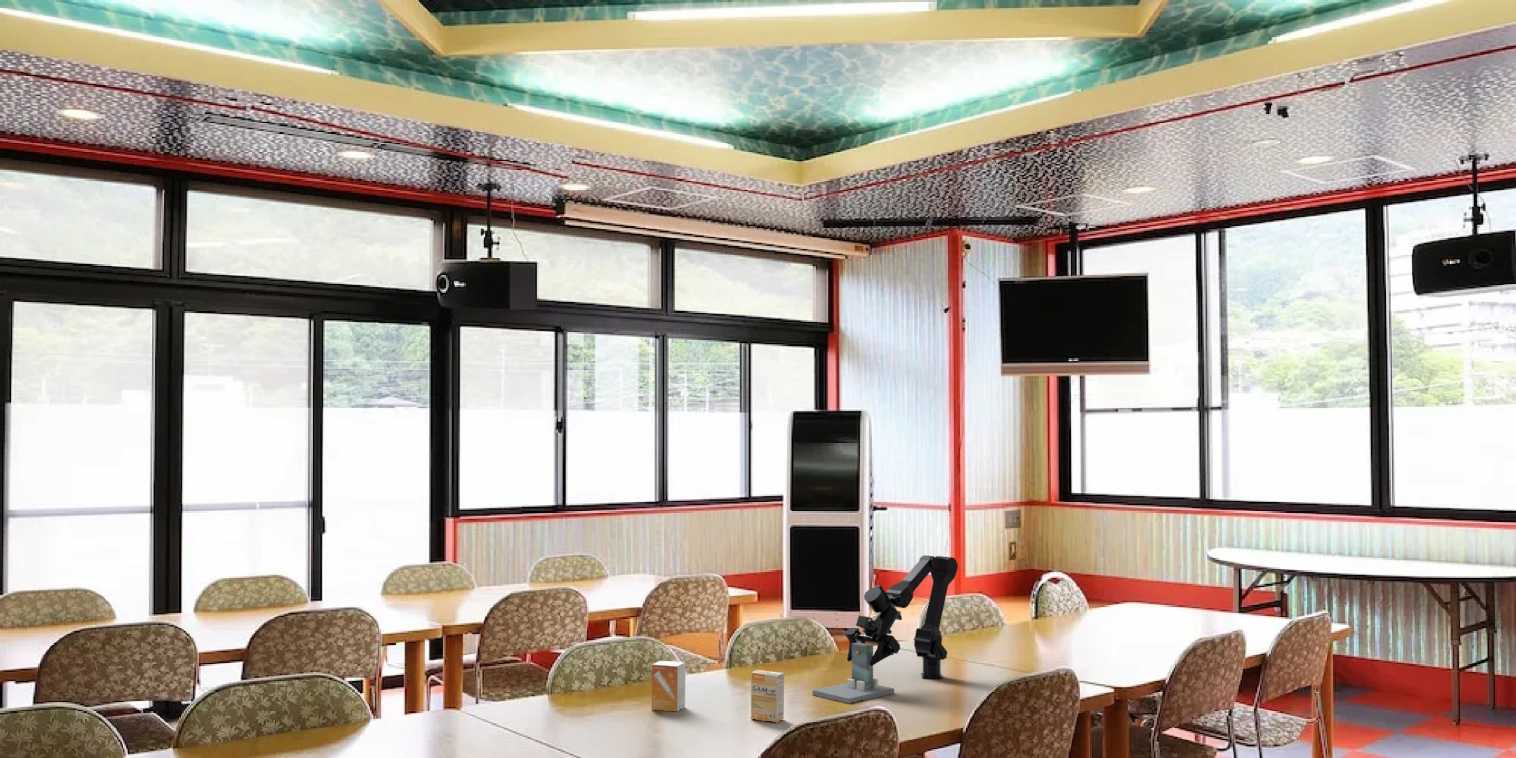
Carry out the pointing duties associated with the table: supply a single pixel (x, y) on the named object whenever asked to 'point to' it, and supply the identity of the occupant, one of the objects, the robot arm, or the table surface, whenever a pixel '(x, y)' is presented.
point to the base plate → (853, 691)
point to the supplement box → (767, 695)
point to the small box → (668, 685)
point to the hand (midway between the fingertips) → (859, 662)
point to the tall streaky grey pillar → (862, 664)
